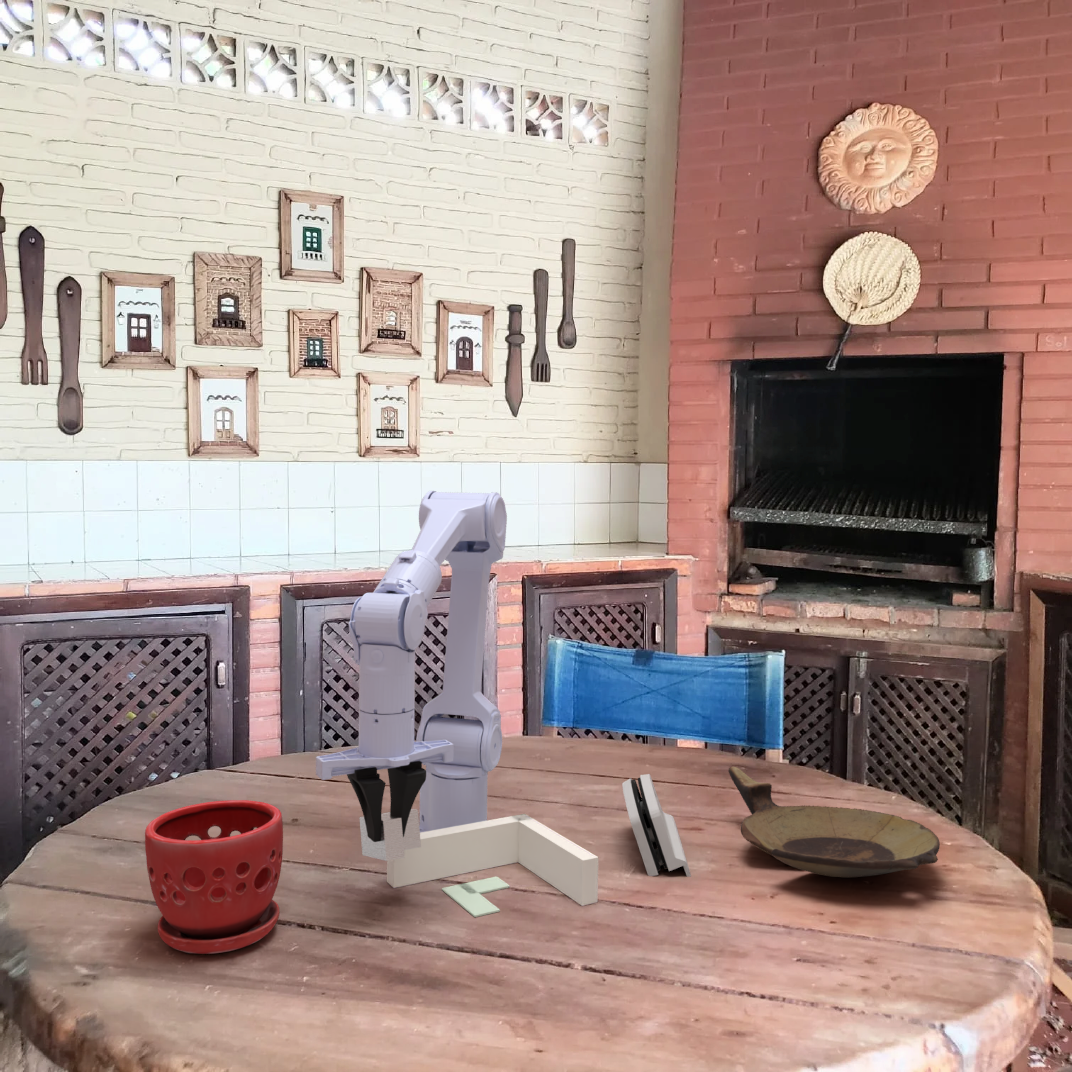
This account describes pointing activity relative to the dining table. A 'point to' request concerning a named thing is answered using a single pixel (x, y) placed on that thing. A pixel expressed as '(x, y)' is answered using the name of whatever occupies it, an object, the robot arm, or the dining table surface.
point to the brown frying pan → (832, 835)
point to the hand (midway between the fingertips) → (385, 836)
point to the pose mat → (476, 895)
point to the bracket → (392, 837)
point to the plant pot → (215, 874)
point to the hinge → (653, 827)
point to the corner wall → (500, 855)
